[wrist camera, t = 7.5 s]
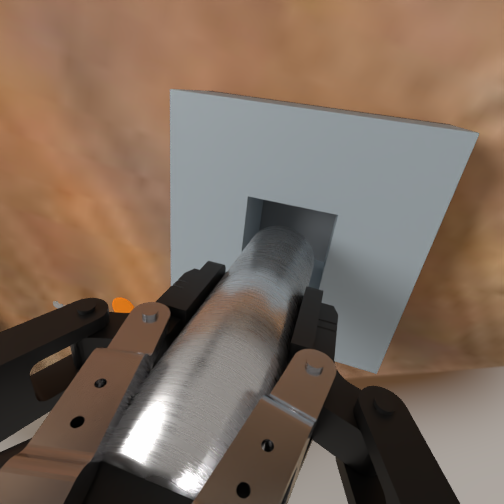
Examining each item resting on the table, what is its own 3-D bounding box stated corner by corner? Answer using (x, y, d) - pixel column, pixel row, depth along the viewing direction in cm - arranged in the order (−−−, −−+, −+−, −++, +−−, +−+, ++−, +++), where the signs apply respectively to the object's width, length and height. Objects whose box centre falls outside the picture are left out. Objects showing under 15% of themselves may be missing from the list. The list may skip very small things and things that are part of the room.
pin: (251, 219, 16) (65, 427, 6) (321, 234, 16) (249, 504, 5) (244, 278, 18) (89, 521, 8) (306, 294, 17) (230, 589, 7)
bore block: (210, 91, 20) (169, 89, 16) (448, 124, 17) (479, 133, 13) (201, 277, 27) (171, 311, 22) (373, 323, 24) (376, 373, 19)
